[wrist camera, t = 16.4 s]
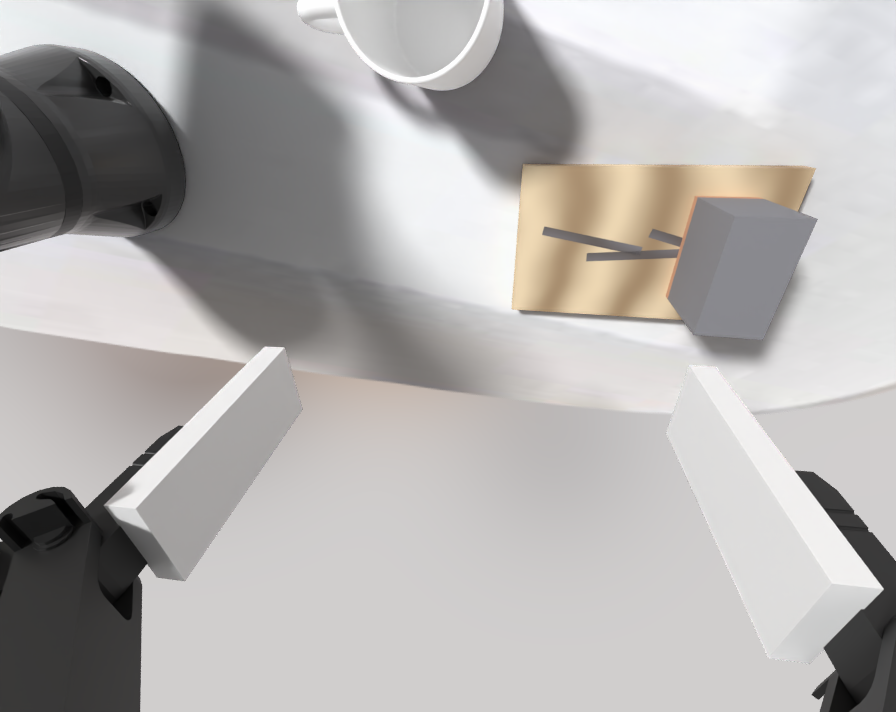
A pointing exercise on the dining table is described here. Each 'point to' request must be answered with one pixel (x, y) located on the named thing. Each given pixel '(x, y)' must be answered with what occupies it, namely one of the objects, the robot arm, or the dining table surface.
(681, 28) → the dining table surface
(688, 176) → the board
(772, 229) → the block
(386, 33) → the cup
